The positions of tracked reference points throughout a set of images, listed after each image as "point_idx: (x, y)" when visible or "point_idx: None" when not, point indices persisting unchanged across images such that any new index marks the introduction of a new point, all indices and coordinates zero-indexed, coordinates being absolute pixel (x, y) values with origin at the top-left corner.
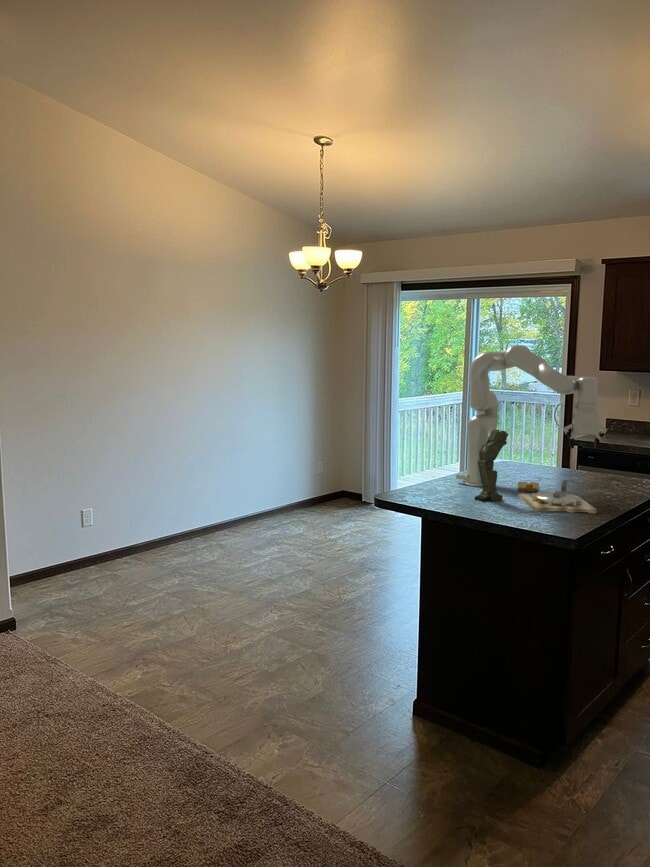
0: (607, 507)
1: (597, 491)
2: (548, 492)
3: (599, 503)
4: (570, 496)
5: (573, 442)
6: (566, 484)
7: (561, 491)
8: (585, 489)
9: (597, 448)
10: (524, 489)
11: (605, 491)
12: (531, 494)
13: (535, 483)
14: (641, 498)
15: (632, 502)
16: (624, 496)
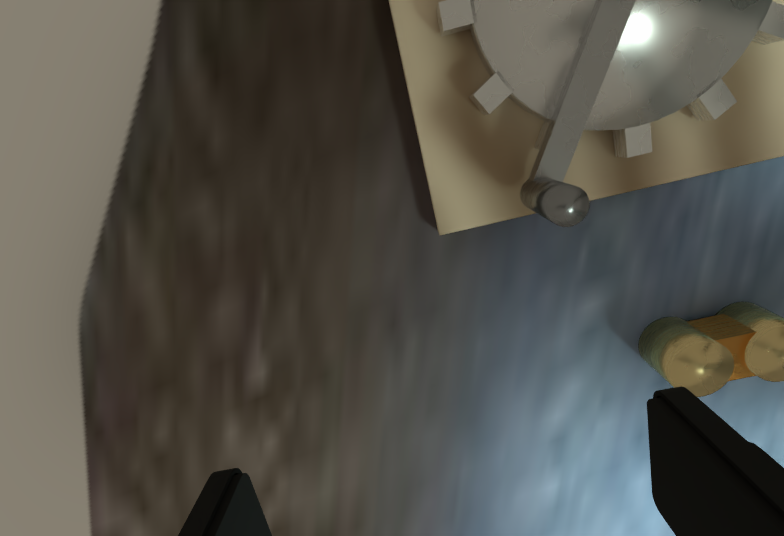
0: (267, 50)
1: (307, 474)
2: (654, 120)
3: (311, 158)
4: (513, 27)
5: (754, 471)
6: (541, 190)
7: (574, 102)
8: (366, 499)
9: (219, 472)
10: (745, 311)
11: (267, 488)
12: (741, 154)
13: (699, 355)
14: (86, 386)
15: (127, 264)
16: (172, 403)
